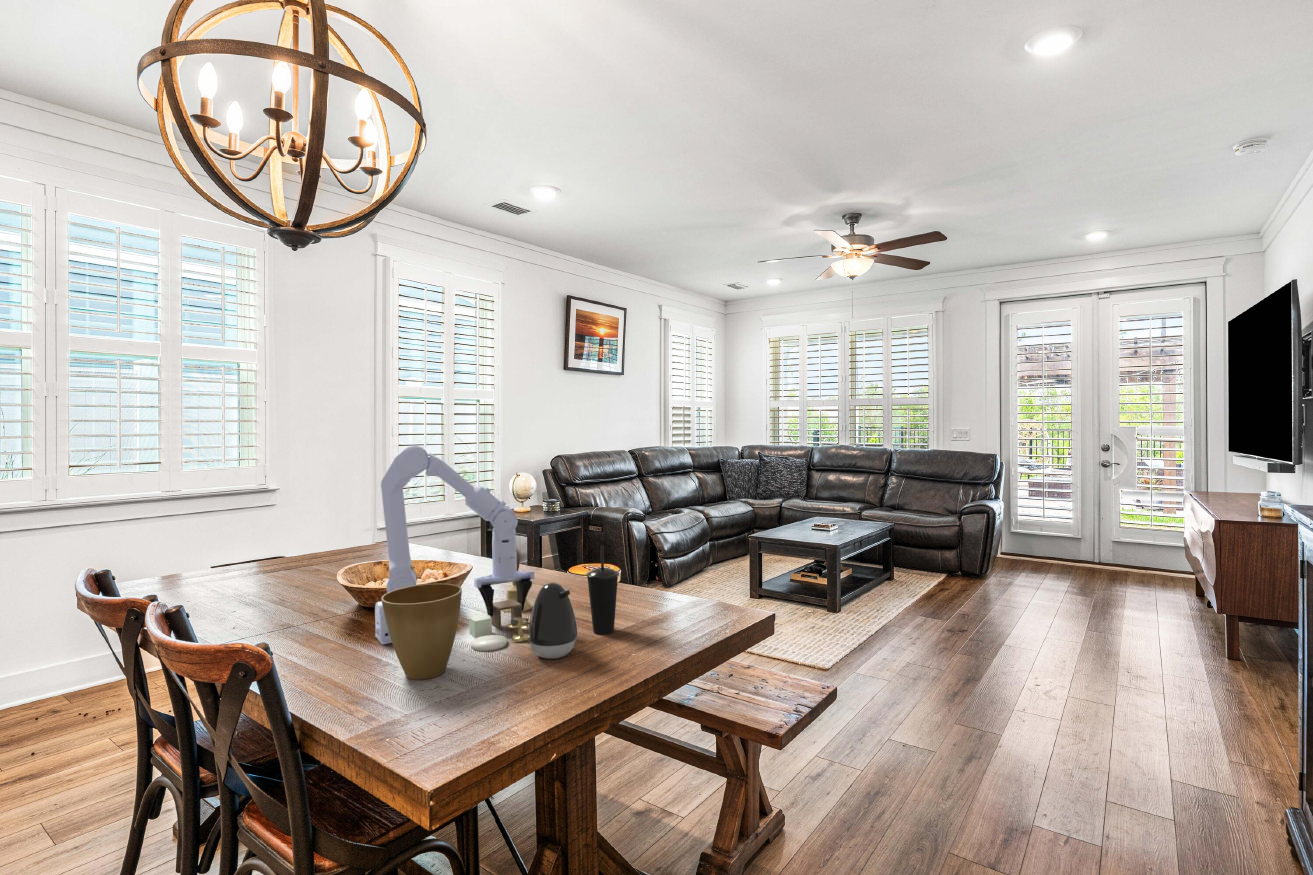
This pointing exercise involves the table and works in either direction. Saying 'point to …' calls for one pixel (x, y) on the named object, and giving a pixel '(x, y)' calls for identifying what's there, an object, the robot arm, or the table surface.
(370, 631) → the table surface
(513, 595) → the hand bell
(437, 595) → the plant pot
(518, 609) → the cover
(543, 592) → the pump dispenser
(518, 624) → the balance
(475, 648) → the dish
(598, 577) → the drinking cup
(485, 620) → the block
